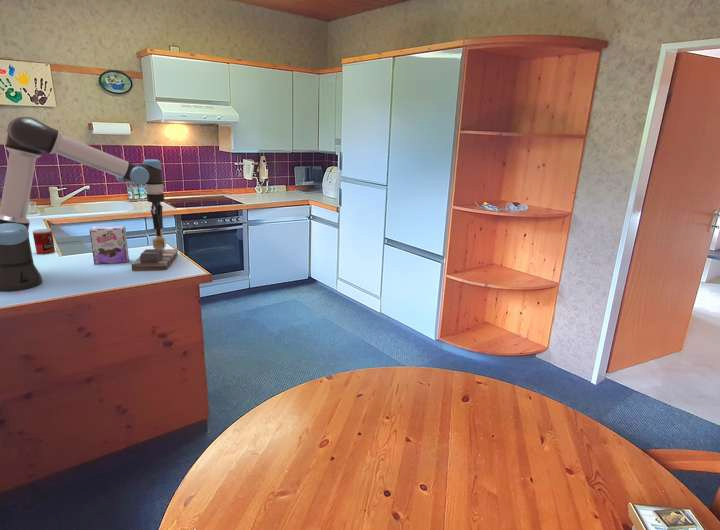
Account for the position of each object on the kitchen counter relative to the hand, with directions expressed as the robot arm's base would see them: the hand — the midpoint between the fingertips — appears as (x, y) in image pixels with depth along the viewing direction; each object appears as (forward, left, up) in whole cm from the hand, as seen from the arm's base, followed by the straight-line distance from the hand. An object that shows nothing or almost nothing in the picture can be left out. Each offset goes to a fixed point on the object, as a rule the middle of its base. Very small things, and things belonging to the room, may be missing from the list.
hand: (160, 242), depth 220 cm
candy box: (-8, +20, -8) cm, 23 cm away
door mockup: (-11, 0, -7) cm, 13 cm away
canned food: (+14, +57, -7) cm, 59 cm away
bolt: (-5, 0, -4) cm, 7 cm away
